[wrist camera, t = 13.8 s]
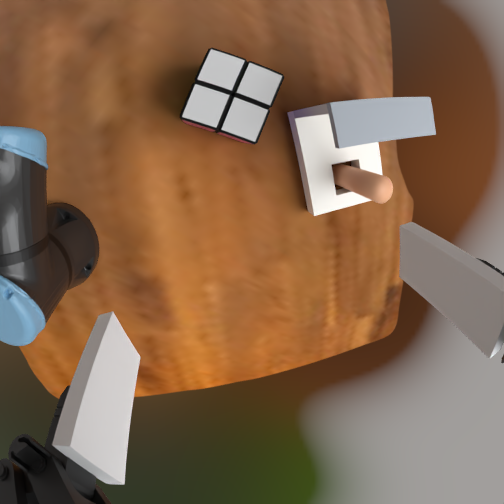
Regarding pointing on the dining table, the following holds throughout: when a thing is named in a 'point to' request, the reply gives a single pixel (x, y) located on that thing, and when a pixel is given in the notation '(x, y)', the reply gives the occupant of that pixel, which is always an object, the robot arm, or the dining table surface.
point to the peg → (363, 182)
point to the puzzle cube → (231, 96)
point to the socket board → (322, 163)
